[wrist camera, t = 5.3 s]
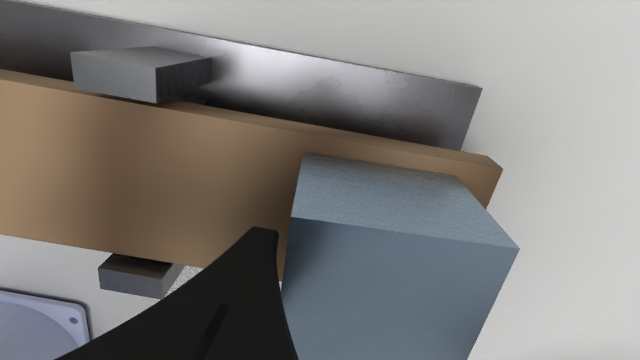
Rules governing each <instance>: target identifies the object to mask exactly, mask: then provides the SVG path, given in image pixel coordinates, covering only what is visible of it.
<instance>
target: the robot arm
mask: <svg viewBox="0 0 640 360" xmlns="http://www.w3.org/2000/svg"><path fill="white" fill-rule="evenodd" d="M278 240H279V233H278V232H277V231H276V230H272V229H267V228H261V227H255V226H253V227H252V228H250V229H249V230H248V231H247V232H246V233H245V234H244V235H243V236H241V237H240V238H239V239H238V240H237V241H236V242H235V243H234V244H233V245H232V246H231V247H230V248H228V249H227V250H226V251H225V252H224V253H223V254H221V255H220V256H219V257H218V258H217V259H215V260H214V261H213V262H212V263H211V264H209V265H208V266H207V267H206V268H205V269H203V270H202V271H201V272H199V273H198V274H197V275H195V276H194V277H193V278H191V279H190V280H189V281H187V282H186V283H185V284H183V285H182V286H181V287H179V288H178V289H176V290H175V291H174V292H172V293H171V294H169V295H168V296H166V297H165V298H163V299H162V300H160V301H159V302H157V303H156V304H154V305H153V306H151V307H149V308H148V309H146V310H145V311H143V312H141V313H140V314H138V315H137V316H135V317H133V318H131V319H130V320H128V321H126V322H124V323H123V324H121V325H119V326H117V327H116V328H114V329H112V330H110V331H108V332H107V333H105V334H103V335H101V336H99V337H97V338H95V339H94V340H92V341H90V340H89V333H88V327H87V321H86V315H85V310H84V308H83V307H82V306H81V305H79V304H75V303H69V302H63V301H57V300H52V299H46V298H40V297H35V296H29V295H23V294H17V293H12V292H6V291H0V360H299V358H298V355H297V353H296V350H295V347H294V343H293V340H292V337H291V334H290V330H289V327H288V323H287V319H286V315H285V311H284V306H283V302H282V297H281V292H280V286H279V278H278V271H277V255H276V254H277V247H278Z"/></svg>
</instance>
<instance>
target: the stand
mask: <svg viewBox="0 0 640 360" xmlns="http://www.w3.org/2000/svg"><path fill="white" fill-rule="evenodd" d="M0 69H3V70H9V71H14V72H20V73H26V74H31V75H37V76H42V77H48V78H53V79H59V80H65V81H70V82H74V87H75V89H80V90H86V91H91V92H97V93H102V94H108V95H113V96H119V97H124V98H130V99H135V100H141V101H146V102H152V103H159V102H161V101H164V100H166V99H171V100H176V101H182V102H188V103H193V104H199V105H204V106H210V107H215V108H221V109H227V110H232V111H238V112H243V113H249V114H255V115H260V116H266V117H271V118H277V119H282V120H288V121H294V122H299V123H305V124H310V125H316V126H322V127H327V128H333V129H338V130H344V131H350V132H355V133H361V134H366V135H372V136H377V137H383V138H389V139H394V140H400V141H405V142H411V143H417V144H422V145H428V146H433V147H439V148H444V149H450V150H456V151H460V149H461V147H462V144H463V141H464V138H465V135H466V133H467V130H468V127H469V124H470V122H471V119H472V116H473V113H474V111H475V108H476V105H477V102H478V100H479V97H480V94H481V91H482V88H480V87H478V86H473V85H467V84H462V83H457V82H451V81H446V80H440V79H435V78H430V77H424V76H419V75H414V74H408V73H403V72H397V71H392V70H387V69H381V68H376V67H370V66H365V65H360V64H354V63H349V62H343V61H338V60H333V59H327V58H322V57H316V56H311V55H306V54H300V53H295V52H289V51H284V50H279V49H273V48H268V47H263V46H257V45H252V44H246V43H241V42H236V41H230V40H225V39H219V38H214V37H209V36H203V35H198V34H192V33H187V32H182V31H176V30H171V29H165V28H160V27H155V26H149V25H144V24H139V23H133V22H128V21H122V20H117V19H112V18H106V17H101V16H95V15H90V14H85V13H79V12H74V11H68V10H63V9H58V8H52V7H47V6H41V5H36V4H31V3H25V2H20V1H14V0H0ZM184 267H185V265H182V264H176V263H170V262H164V261H158V260H152V259H146V258H140V257H134V256H128V255H122V254H116V253H113V254H112V255H111V256H110V257H109V258H108V259H107V260H106V261H105V262H104V263H102V264H101V265H100V266H99V267H98V273H99V281H100V289H105V290H111V291H117V292H122V293H128V294H134V295H139V296H145V297H151V298H156V299H163V298H164V297H165V295H166V294H167V292H168V291H169V289H170V288H171V286H172V285H173V283H174V282H175V280H176V279H177V277H178V276H179V274H180V273H181V271H182V270H183V268H184Z"/></svg>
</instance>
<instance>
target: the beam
mask: <svg viewBox="0 0 640 360" xmlns="http://www.w3.org/2000/svg"><path fill="white" fill-rule="evenodd" d="M303 153H307V154H314V155H321V156H328V157H334V158H341V159H348V160H355V161H361V162H368V163H375V164H382V165H388V166H395V167H402V168H408V169H415V170H422V171H429V172H435V173H442V174H449V175H455V176H457V177H458V179H459V180H460V181H461V182H462V183H463V184H464V185H465V187H466V188H467V189H468V190H469V191H470V192H471V193H472V195H473V196H474V197H475V198H476V199H477V200H478V202H479V203H480V204H481V205H482V206H483V207H484V208H485V210H486V208H487V206H488V204H489V201H490V199H491V196H492V194H493V192H494V189H495V187H496V185H497V182H498V180H499V178H500V175H501V173H502V171H503V168H501V167H500V166H499V165H498V164H497V163H495V162H494V161H493V160H492V159H491V158H489V157H488V156H484V155H478V154H472V153H467V152H461V151H456V150H450V149H444V148H439V147H433V146H428V145H422V144H417V143H411V142H405V141H400V140H394V139H389V138H383V137H377V136H372V135H366V134H361V133H355V132H350V131H344V130H338V129H333V128H327V127H322V126H316V125H310V124H305V123H299V122H294V121H288V120H282V119H277V118H271V117H266V116H260V115H255V114H249V113H243V112H238V111H232V110H227V109H221V108H215V107H210V106H204V105H199V104H193V103H188V102H182V101H176V100H171V99H166V100H164V101H161V102H159V103H152V102H146V101H141V100H135V99H130V98H124V97H119V96H113V95H108V94H102V93H97V92H91V91H86V90H80V89H75V87H74V82H70V81H65V80H59V79H53V78H48V77H42V76H37V75H31V74H26V73H20V72H14V71H9V70H3V69H0V234H2V235H8V236H14V237H20V238H26V239H32V240H38V241H44V242H50V243H56V244H62V245H68V246H74V247H80V248H86V249H92V250H98V251H104V252H110V253H116V254H122V255H128V256H134V257H140V258H146V259H152V260H158V261H164V262H170V263H176V264H182V265H188V266H194V267H200V268H206V267H207V266H208V265H209V264H211V263H212V262H213V261H214V260H215V259H217V258H218V257H219V256H220V255H221V254H223V253H224V252H225V251H226V250H227V249H228V248H230V247H231V246H232V245H233V244H234V243H235V242H236V241H237V240H238V239H239V238H240V237H241V236H243V235H244V234H245V233H246V232H247V231H248V230H249V229H250V228H252V227H253V226H255V227H261V228H267V229H272V230H276V231H277V232H278V233H279V240H278V247H277V254H276V255H277V271H278V278H279V281H282V280H283V272H284V264H285V257H286V249H287V241H288V234H289V226H290V219H291V213H292V208H293V203H294V198H295V193H296V188H297V183H298V178H299V173H300V168H301V163H302V158H303Z"/></svg>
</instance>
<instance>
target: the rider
mask: <svg viewBox="0 0 640 360" xmlns="http://www.w3.org/2000/svg"><path fill="white" fill-rule="evenodd" d="M519 249H520V248H519V247H518V246H517V245H516V244H515V243H514V242H513V240H512V239H511V238H510V237H509V236H508V235H507V234H506V232H505V231H504V230H503V229H502V228H501V227H500V226H499V224H498V223H497V222H496V221H495V220H494V219H493V218H492V216H491V215H490V214H489V213H488V212H487V211H486V210H485V208H484V207H483V206H482V205H481V204H480V203H479V202H478V200H477V199H476V198H475V197H474V196H473V195H472V193H471V192H470V191H469V190H468V189H467V188H466V187H465V185H464V184H463V183H462V182H461V181H460V180H459V179H458V177H457V176H455V175H449V174H442V173H435V172H429V171H422V170H415V169H408V168H402V167H395V166H388V165H382V164H375V163H368V162H361V161H355V160H348V159H341V158H334V157H328V156H321V155H314V154H307V153H303V158H302V163H301V168H300V173H299V178H298V183H297V188H296V193H295V198H294V203H293V208H292V213H291V219H290V226H289V234H288V241H287V249H286V257H285V264H284V272H283V280H282V287H281V297H282V302H283V306H284V311H285V315H286V319H287V323H288V327H289V330H290V334H291V337H292V340H293V343H294V347H295V350H296V353H297V355H298V358H299V360H467V358H468V356H469V354H470V352H471V350H472V348H473V346H474V344H475V342H476V340H477V337H478V335H479V333H480V331H481V329H482V327H483V325H484V323H485V321H486V319H487V317H488V314H489V312H490V310H491V308H492V306H493V304H494V302H495V300H496V298H497V296H498V293H499V291H500V289H501V287H502V285H503V283H504V281H505V279H506V277H507V275H508V272H509V270H510V268H511V266H512V264H513V262H514V260H515V258H516V256H517V254H518V252H519Z"/></svg>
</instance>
